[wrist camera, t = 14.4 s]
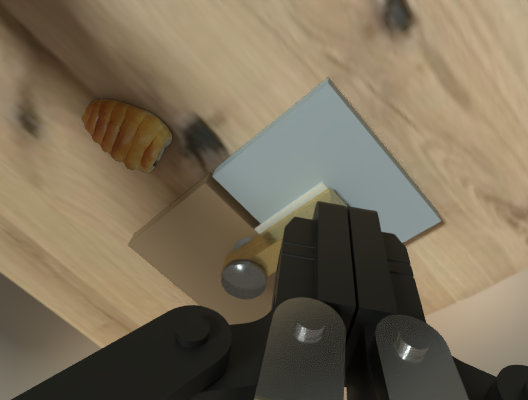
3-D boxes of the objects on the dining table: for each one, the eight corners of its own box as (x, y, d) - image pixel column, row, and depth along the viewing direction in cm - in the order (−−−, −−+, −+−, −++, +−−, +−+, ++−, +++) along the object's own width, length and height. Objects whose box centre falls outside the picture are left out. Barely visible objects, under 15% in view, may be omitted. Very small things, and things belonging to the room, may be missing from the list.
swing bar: (248, 276, 55) (242, 305, 51) (220, 250, 54) (211, 278, 49) (352, 212, 49) (355, 239, 45) (324, 180, 47) (324, 205, 43)
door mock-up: (134, 233, 57) (116, 263, 52) (328, 77, 44) (329, 97, 39) (241, 324, 64) (234, 359, 59) (437, 211, 51) (450, 243, 46)
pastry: (81, 130, 51) (65, 144, 47) (100, 79, 47) (84, 91, 44) (156, 170, 52) (146, 186, 49) (180, 124, 49) (170, 138, 46)
